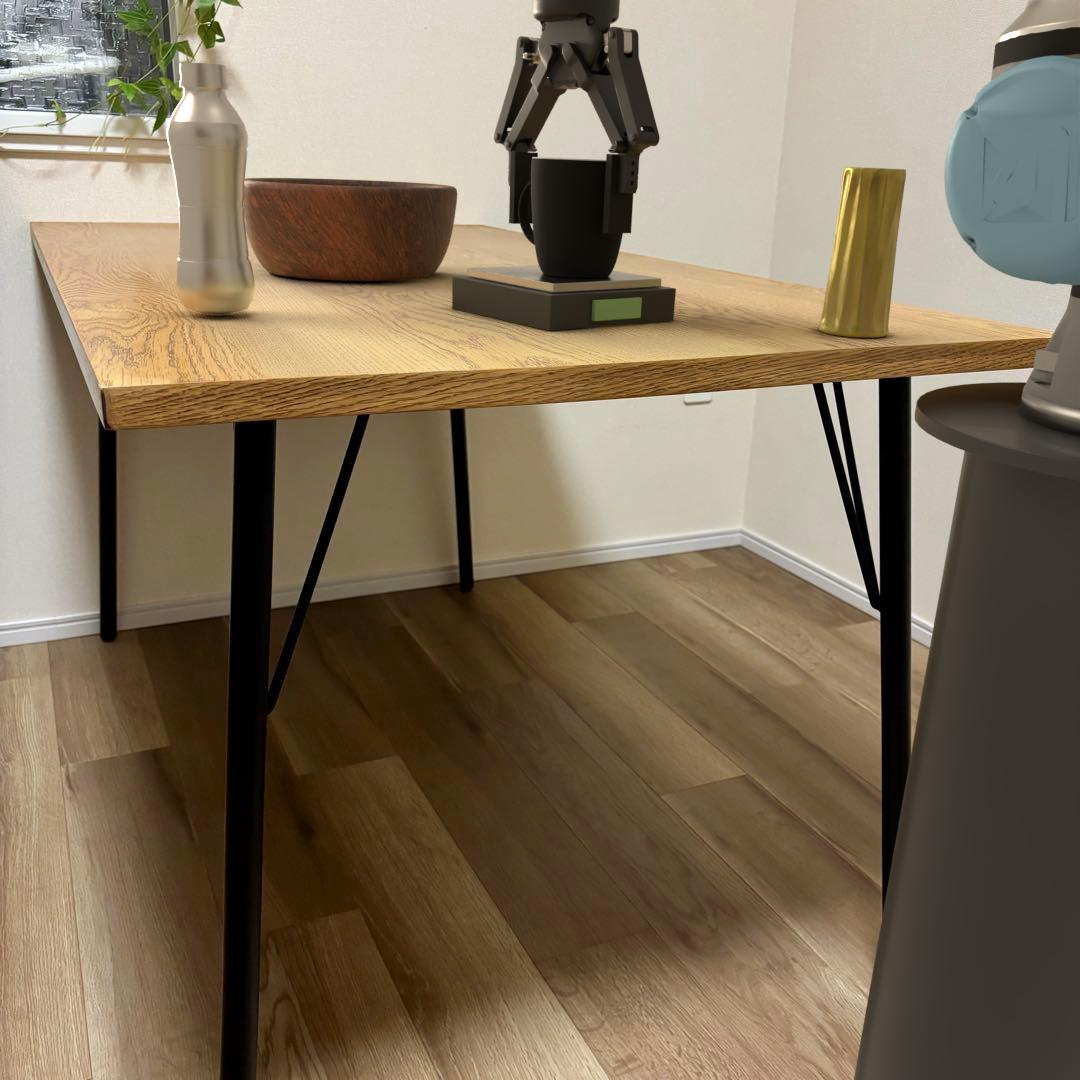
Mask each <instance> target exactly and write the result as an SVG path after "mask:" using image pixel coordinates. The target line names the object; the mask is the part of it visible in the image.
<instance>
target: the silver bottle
mask: <svg viewBox="0 0 1080 1080" xmlns="http://www.w3.org/2000/svg"><path fill="white" fill-rule="evenodd" d="M227 69H228V68H227V66H226V65H225V64H220V63H219V64H218V63H207V62H180V63H179V77H180V78H179V79H180V80H179V88H183V96H182V97H181V100H180V101H179V102H178V104H177V106H176V107H175V108H174V110H173V112H172V114H171V117H170V118H169V120H168V123H167V128H166V139H167V144H168V146H169V148H168V150H169V155H170V161H171V164H172V165H171V166H172V171H173V176H174V180H175V189H176V190H175V191H176V198H177V199H178V204H177V209H178V221H179V222H178V255H179V256H178V257H177V261H176V268H175V280H174V281H175V288H176V293H177V297H178V300H179V302H180V303H181V305H182V306H183V307H184V309H186V310H189V311H192V312H196V313H202V314H205V315H209V316H216V317H217V316H226V315H231V314H233V313H238V312H242V311H245V310H248V309H249V308H250V306H251V304H252V303H253V301H254V294H255V286H256V283H255V278H254V271H253V267H252V263H251V259H249V256H250V255H249V247H248V237H247V233H246V229H245V221H244V207H243V201H244V182H245V179H246V171H247V170H246V168H247V158H248V147H249V134H248V131H247V128H246V125H245V123H244V121H243V119H242V118H241V116H240V115H239V113H238V111H237V110H236V108H235V107H234V106H233V105H232V103H231V102H230V101H229V100H228V98H227V93H226V91H229V90H230V84H229V83H228V70H227Z"/></svg>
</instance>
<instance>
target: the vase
mask: <svg viewBox="0 0 1080 1080" xmlns="http://www.w3.org/2000/svg"><path fill="white" fill-rule="evenodd" d="M842 172H843V173H842V183H841V192H840V198H839V206H838V213H837V221H836V227H835V234H834V241H833V248H832V253H831V254H832V256H831V259H830V260H831V261H830V266H829V272H828V277H827V282H826V287H825V294H824V301H823V306H822V313H821V317H820V320H819V325H818V331H820V332H822V333H825V334H827V335H832V336H837V337H838V336H839V337H847V338H857V339H858V338H860V339H874V338H875V339H876V338H877V339H878V338H883V337H885V336H887V335H888V334H889V319H890V313H891V303H892V302H891V301H892V295H893V293H892V292H893V284H894V283H893V282H894V274H895V273H894V272H895V264H896V262H895V261H896V253H897V246H898V237H899V231H900V229H899V228H900V223H901V222H900V221H901V215H902V207H903V199H904V194H905V193H904V191H905V187H906V186H905V185H906V179H907V169H905V168H882V167H881V168H880V167H862V166H861V167H860V166H859V167H857V166H844V168H843V171H842Z"/></svg>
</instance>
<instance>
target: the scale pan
mask: <svg viewBox="0 0 1080 1080" xmlns="http://www.w3.org/2000/svg"><path fill="white" fill-rule="evenodd" d="M466 276H467V277H472V278H477V279H482V280H487V281H493V282H498V283H503V284H508V285H514V286H519V287H524V288H529V289H535V290H540V291H545V292H550V293H562V292H580V291H598V290H616V289H634V288H652V287H661V286H662V278H661V277H656V276H649V275H642V274H637V273H630V272H622V271H617V270H613V271H612V273H611V274H610V275H609V276H608V277H604V278H567V277H556V276H550V275H546V274H544V273H543V272H542V271H541V269H540V267H539V265H513V266H490V267H489V266H487V267H467V268H466Z"/></svg>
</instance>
